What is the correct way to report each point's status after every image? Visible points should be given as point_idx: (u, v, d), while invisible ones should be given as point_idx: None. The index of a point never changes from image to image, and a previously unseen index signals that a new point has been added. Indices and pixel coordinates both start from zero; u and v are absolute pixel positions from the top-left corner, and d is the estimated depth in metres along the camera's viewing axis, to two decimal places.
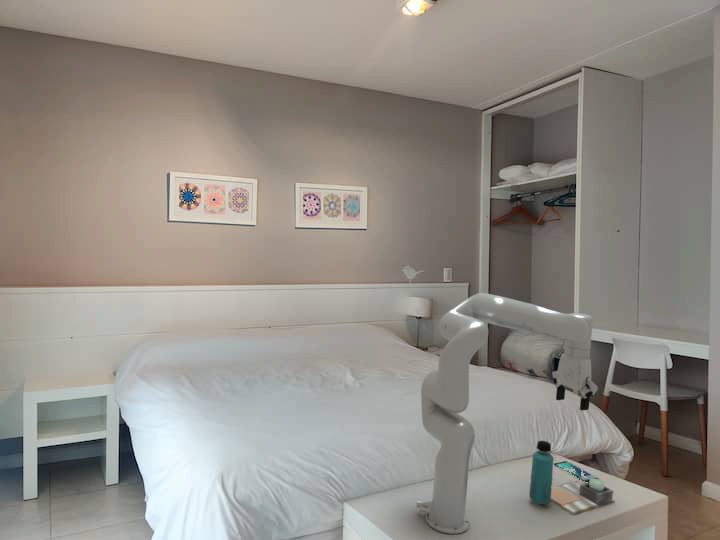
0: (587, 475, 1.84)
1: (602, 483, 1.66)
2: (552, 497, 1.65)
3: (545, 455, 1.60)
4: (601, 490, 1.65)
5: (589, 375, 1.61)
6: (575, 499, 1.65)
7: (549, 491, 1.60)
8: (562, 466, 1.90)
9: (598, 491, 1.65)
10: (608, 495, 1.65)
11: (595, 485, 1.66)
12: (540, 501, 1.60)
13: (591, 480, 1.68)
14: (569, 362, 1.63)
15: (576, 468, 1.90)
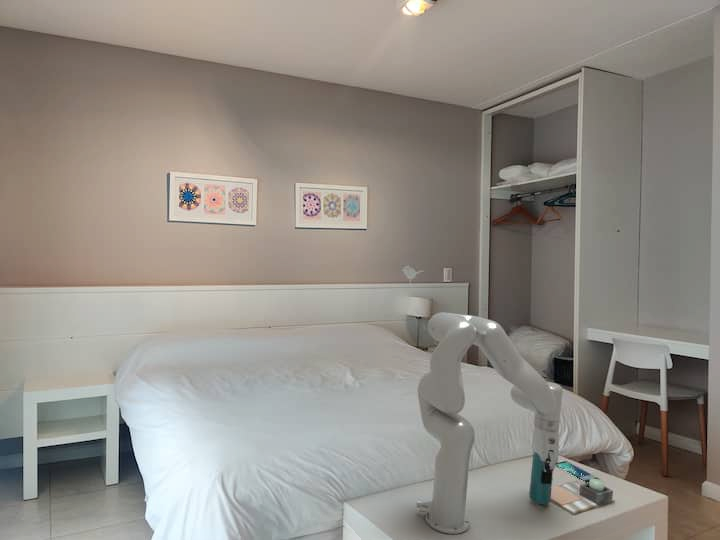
0: (587, 475, 1.84)
1: (602, 483, 1.66)
2: (552, 497, 1.65)
3: None
4: (601, 490, 1.65)
5: None
6: (575, 499, 1.65)
7: (549, 491, 1.60)
8: (562, 466, 1.90)
9: (598, 491, 1.65)
10: (608, 495, 1.65)
11: (595, 485, 1.66)
12: (540, 501, 1.60)
13: (591, 480, 1.68)
14: None
15: (576, 468, 1.90)
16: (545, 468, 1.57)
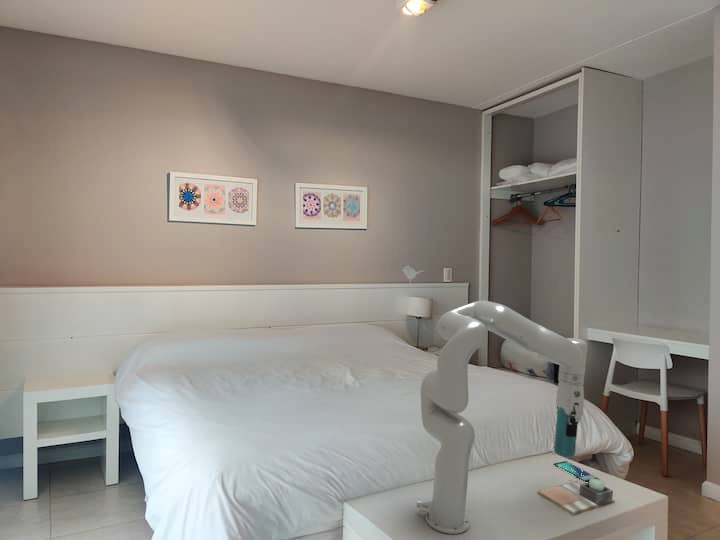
0: (587, 475, 1.84)
1: (602, 483, 1.66)
2: (552, 497, 1.65)
3: None
4: (601, 490, 1.65)
5: None
6: (575, 499, 1.65)
7: (574, 444, 1.63)
8: (562, 466, 1.90)
9: (598, 491, 1.65)
10: (608, 495, 1.65)
11: (595, 485, 1.66)
12: (565, 454, 1.63)
13: (591, 480, 1.68)
14: None
15: (576, 468, 1.90)
16: (570, 421, 1.61)
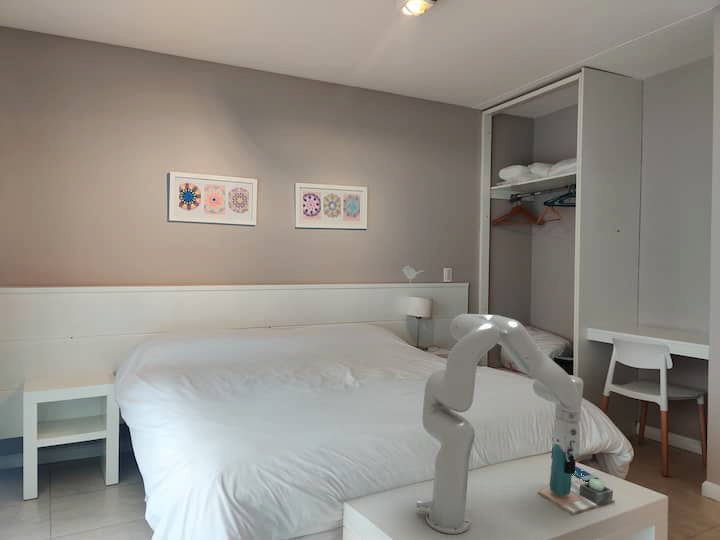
0: (587, 475, 1.85)
1: (602, 483, 1.66)
2: (552, 497, 1.65)
3: None
4: (601, 490, 1.65)
5: None
6: (575, 499, 1.65)
7: (569, 482, 1.64)
8: None
9: (598, 491, 1.65)
10: (608, 495, 1.65)
11: (595, 485, 1.66)
12: (560, 492, 1.64)
13: (591, 480, 1.68)
14: None
15: (576, 468, 1.90)
16: (568, 457, 1.60)
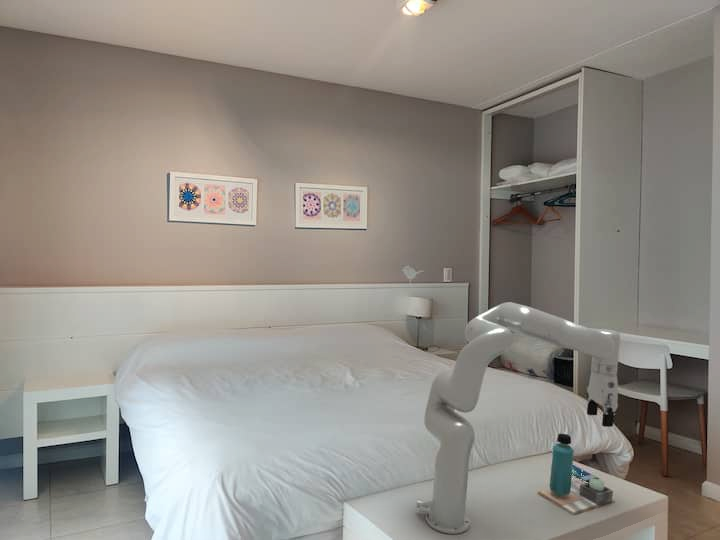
0: (587, 475, 1.85)
1: (602, 483, 1.66)
2: (552, 497, 1.65)
3: (565, 447, 1.65)
4: (601, 490, 1.65)
5: None
6: (575, 499, 1.65)
7: (569, 482, 1.64)
8: None
9: (598, 491, 1.65)
10: (608, 495, 1.65)
11: (595, 485, 1.66)
12: (561, 492, 1.64)
13: (591, 480, 1.68)
14: None
15: (576, 468, 1.90)
16: (606, 410, 1.60)
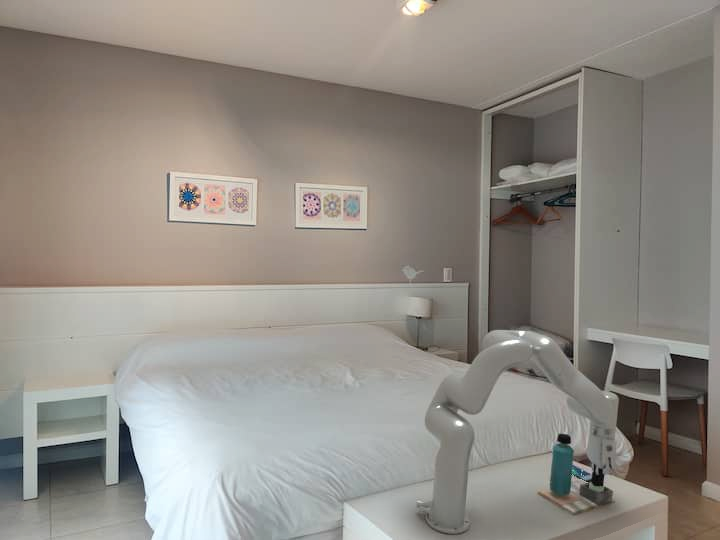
0: (587, 475, 1.85)
1: (602, 486, 1.66)
2: (552, 497, 1.65)
3: (565, 447, 1.65)
4: None
5: None
6: (575, 499, 1.65)
7: (569, 482, 1.64)
8: None
9: None
10: (608, 495, 1.65)
11: (595, 488, 1.66)
12: (560, 492, 1.64)
13: (591, 483, 1.68)
14: None
15: (576, 468, 1.90)
16: (598, 472, 1.65)
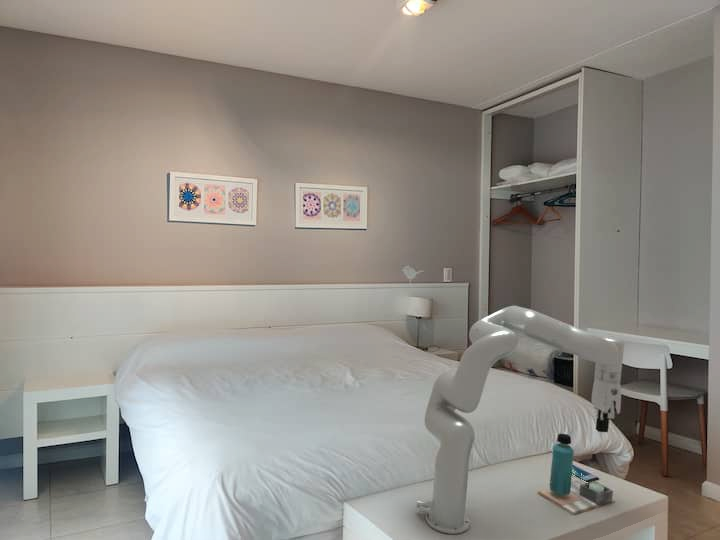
0: (587, 475, 1.85)
1: (602, 487, 1.66)
2: (552, 497, 1.65)
3: (565, 447, 1.65)
4: None
5: None
6: (575, 499, 1.65)
7: (569, 482, 1.64)
8: None
9: None
10: (608, 495, 1.65)
11: (595, 489, 1.66)
12: (560, 492, 1.64)
13: (591, 484, 1.68)
14: None
15: (575, 468, 1.90)
16: (603, 418, 1.64)
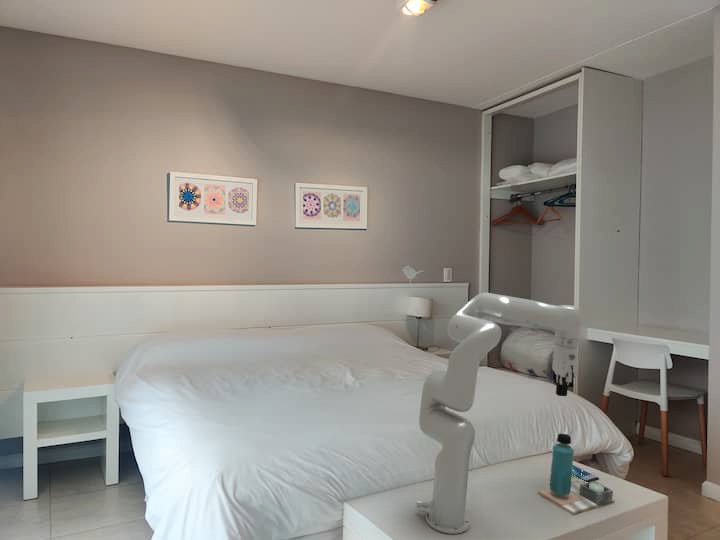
0: (587, 475, 1.85)
1: (602, 487, 1.66)
2: (552, 497, 1.65)
3: (565, 447, 1.65)
4: None
5: None
6: (575, 499, 1.65)
7: (569, 482, 1.64)
8: None
9: None
10: (608, 495, 1.65)
11: (595, 489, 1.66)
12: (560, 492, 1.64)
13: (591, 484, 1.68)
14: None
15: (575, 468, 1.90)
16: (561, 382, 1.73)
